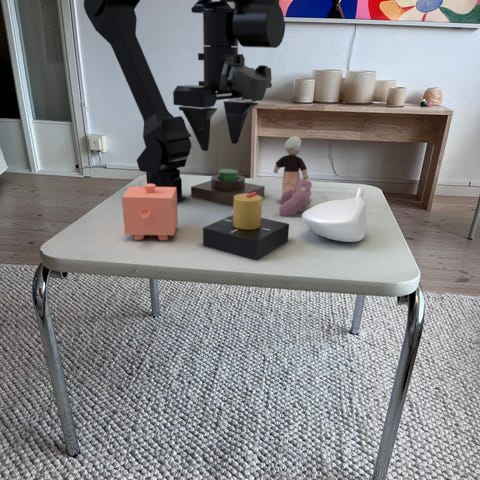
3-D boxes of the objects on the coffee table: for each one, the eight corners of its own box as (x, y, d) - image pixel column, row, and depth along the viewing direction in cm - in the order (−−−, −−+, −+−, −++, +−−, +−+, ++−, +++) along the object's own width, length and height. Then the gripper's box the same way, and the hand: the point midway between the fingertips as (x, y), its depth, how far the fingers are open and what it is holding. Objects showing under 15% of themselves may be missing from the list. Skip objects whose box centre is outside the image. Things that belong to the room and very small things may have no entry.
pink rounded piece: (297, 225, 90) (317, 193, 87) (276, 213, 90) (296, 181, 86) (298, 210, 99) (316, 180, 95) (279, 199, 98) (297, 169, 95)
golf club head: (391, 186, 79) (346, 164, 72) (381, 249, 80) (336, 234, 72) (341, 192, 87) (296, 173, 80) (332, 250, 88) (287, 236, 80)
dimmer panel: (203, 245, 76) (202, 226, 74) (237, 229, 83) (237, 211, 82) (256, 260, 71) (257, 240, 70) (288, 241, 78) (289, 222, 77)
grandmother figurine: (309, 201, 98) (315, 136, 92) (304, 206, 95) (310, 139, 89) (274, 196, 101) (278, 133, 94) (267, 201, 98) (271, 135, 91)
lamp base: (191, 197, 100) (190, 177, 98) (218, 187, 107) (218, 169, 105) (238, 207, 94) (239, 187, 92) (264, 196, 102) (265, 177, 100)
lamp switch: (214, 179, 98) (214, 171, 98) (225, 176, 101) (225, 168, 101) (230, 182, 97) (230, 174, 96) (241, 179, 100) (241, 170, 99)
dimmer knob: (251, 231, 73) (252, 200, 71) (227, 226, 75) (228, 195, 73) (265, 224, 76) (267, 194, 74) (242, 219, 78) (243, 190, 76)
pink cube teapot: (121, 247, 74) (116, 195, 70) (135, 223, 84) (131, 175, 80) (172, 248, 74) (169, 196, 70) (179, 224, 85) (177, 176, 81)
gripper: (229, 46, 67) (228, 161, 75) (291, 48, 81) (284, 145, 88) (168, 45, 72) (173, 152, 80) (236, 47, 86) (234, 138, 93)
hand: (220, 147), depth 85 cm, fingers open, 9 cm apart
